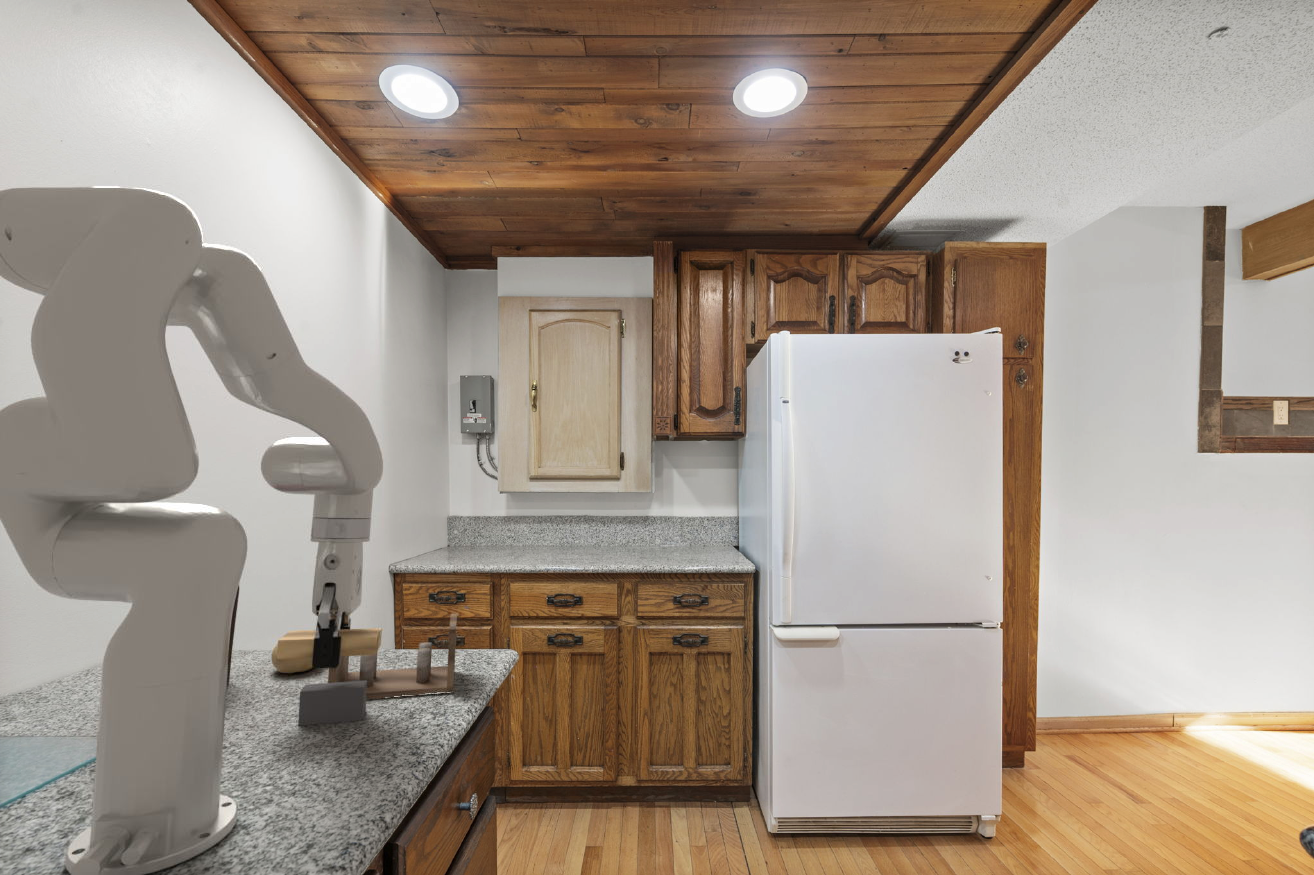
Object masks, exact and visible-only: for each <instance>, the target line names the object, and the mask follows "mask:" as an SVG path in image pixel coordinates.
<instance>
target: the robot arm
mask: <svg viewBox="0 0 1314 875" xmlns="http://www.w3.org/2000/svg"><path fill="white" fill-rule="evenodd" d="M203 238H204V237H203V232H202V227H201V224H200V222H199V219H198V217H197V215H196V213H195V212H194V211H193V210H192V209H191V207H190V206H188V205H187V204H186V203H185V202H184V201H182V200H181V199H179V198H177V197H175V196H173V195H171V194H168V193H165V192H161V191H158V190H154V189H153V190H152V189H148V188H141V187H140V188H139V187H126V186H75V187H12V188H7V189H2V190H0V277H1V278H2V279H5V280H6V281H8V282H9V283H12V284H13V285H15V286H17V287H19V288H22V289H24V290H26V291H30V292H33V293H35V294H38V295H40V296H44V297H43V298H42V300H41V303H40V305H39V306H38V308H37V310H36V313H35V316H34V319H33V323H32V327H31V331H30V332H31V333H30V345H31V346H30V347H31V353H32V358H33V360H34V364H35V368H36V370H37V373H38V376H39V379H40V382H41V386H42V387H43V390H44V394H45V396H39V397H38V396H37V397H31V398H27V399H22V400H18V401H16V402H13V403H10V404H8V405H7V406H5V407H3V408H2V409H0V522H1V523H2V525H3V528H4V529H5V532H6V534H7V535H8V538H9V540H10V542H11V543H12V545H13V547H14V549H15V551H16V553H17V555H18V557H19V559H20V561H21V563H22V564H23V566H24V569H25V570H26V571H27V573H28V574H29V576H30V577H31V579H33V581H34V582H35V583H36V584H37V585H38V586H40V587H41V589H43V590H44V591H46V592H48V593H49V594H52V595H54V596H56V597H59V598H62V599H63V598H64V599H69V600H78V601H80V600H81V601H93V602H94V601H96V602H97V601H98V602H100V601H101V602H121V603H127V604H129V603H130V604H131V606H130V609H129V611H128V613H127V615H126V617H125V618H124V619H123V620H122V622H121V623H120V625H119V626H118V627H117V629H116V631H115V632H114V633H113V635H112V637H111V638H110V640H109V642H108V644H107V646H106V649H105V651H104V655H103V661H102V668H101V679H100V680H101V685H100V697H99V700H100V701H99V710H98V711H99V712H98V727H97V741H96V756H95V768H94V770H95V771H94V782H93V793H92V794H93V796H92V797H93V798H92V808H91V810H92V811H91V822H90V823H91V825H90V826H88V827H87V828H85V829H84V830H82V832H80V833H79V834H78V835H77V836H76V837H75V838H74V839H73V840H72V841H71V842H70V843H69V845H68V846H67V848H66V853H65V861H64V862H65V869H66V870H67V872H68V873H69V874H70V875H147V874H152V873H155V872H158V871H162V870H165V869H168V868H171V867H173V866H176V865H178V864H181V863H183V862H186V861H188V860H190V859H192V858H194V857H197V856H199V855H200V854H203V853H205V852H206V851H207V850H208V849H210V848H212V847H214V846H215V845H216V844H218V843H219V842H220V841H221V840H223V839H225V837H226V836H227V835H228V834H229V833H230V832H231V831H233V829H234V827H235V825H236V824H237V820H238V811H239V810H238V809H239V808H238V804H237V803H236V801H235V800H234V799H233V798H231V797H230V796H226V795H225V794H221V783H222V770H223V769H222V766H223V749H224V733H225V720H226V718H225V717H226V702H227V701H226V700H227V688H228V686H227V671H228V653H229V639H230V628H231V620H232V613H233V607H234V602H235V597H236V593H237V590H238V586H239V587H240V581H241V579H242V575H243V572H244V568H245V564H246V560H247V555H248V554H247V553H248V537H247V533H246V530H245V529H244V526H243V525H242V524H241V522H240V520H238V519H237V518H236V517H234V515H233V514H231V513H229V512H227V511H226V510H223V509H220V508H218V507H215V506H211V505H205V504H199V503H191V502H190V503H189V502H163V501H164V500H168V499H172V498H174V497H176V496H178V495H180V494H181V493H184V492H185V491H186V490H188V489H189V488H190V487H191V486H192V485H193V482H194V481H195V479H196V478H197V475H198V474H199V467H200V459H199V452H198V449H197V448H198V447H197V444H196V441H195V440H196V439H195V436H194V434H193V430H192V427H191V424H190V421H189V418H188V414H187V413H186V409H185V406H184V404H183V401H182V397H181V394H180V390H179V388H178V384H177V383H176V379H175V376H174V373H173V370H172V367H171V363H170V359H169V355H168V354H169V353H168V350H167V346H166V343H167V342H166V332H167V326H169V327H186V328H188V329H190V330H191V331H192V333H193V335H194V336H195V339H197V341H198V343H199V346H200V347H201V349H203V351H204V353H205V355H206V356H207V358H208V360H209V361H210V364H211V365H212V367H213V369H214V370H215V373H216V374H217V376H218V377H219V378H220V380H221V382H222V384H223V386H224V387H225V389H226V391H228V393H229V394H230V395H231V396H232V397H234V398H235V399H237V400H238V401H241V402H243V403H245V404H246V405H249V406H252V407H254V408H256V409H259V410H261V411H263V412H266V413H269V414H270V415H271V414H272V415H274V416H278V417H281V418H283V419H286V420H289V421H292V422H294V423H297V424H298V425H300V426H303V427H305V428H307V429H309V431H312V432H314V433H316V435H318V436H319V437H300V436H299V437H298V436H295V437H287V438H283V439H279V440H277V441H276V442H273V443H272V444H271V445H270V446H268V447H267V449H266V450H265V451H264V453H263V455H262V458H261V461H260V470H261V474H262V477H263V479H264V481H265V482H266V484H268V486H270V487H271V488H273V489H274V490H275V491H278V492H282V493H285V494H291V495H310V496H311V495H313V497H314V498H313V510H312V518H311V519H312V520H311V530H310V532H311V533H310V542H312V543H318V544H317V553H316V559H315V567H314V569H315V570H314V575H313V576H314V577H313V587H312V597H311V598H312V600H311V601H312V602H311V610H312V611H311V612H312V614H314V616H316V617H317V619H316V625H315V626H316V627H315V630H316V632H315V638H314V648H313V659H312V668H311V669H329V668H336V667H338V665H339V660H340V647H341V636H339V631H340V630H341V629H351V626H350V627H345V626H349V624H350V618H351V615H352V613H353V614H354V612H355V611H356V610H357V609H358V608H359V607H360V606H361V603H362V592H363V591H362V590H363V588H362V587H363V568H364V567H363V565H364V549H363V548H364V545H363V543H365V542H367V543H368V542H370V538H371V529H372V528H371V523H372V511H373V498H374V490H375V488H376V487H378V485H379V483H380V482H381V480H382V476H383V472H384V459H383V454H382V451H381V447H380V444H379V441H378V439H377V436H376V434H375V431H374V429H373V426H372V424H371V422H370V420H369V418H368V416H367V414H366V413H365V412H364V410H363V409H362V407H361V406H359V404H358V403H357V402H356V401H355V400H354V399H352V398H351V397H350V396H349V395H348V394H346V393H345V391H343V390H341V388H339V387H338V386H337V385H335V383H333V382H332V381H331V380H329V379H328V378H326V377H325V376H323V375H322V374H321V373H319V372H318V371H316V370H314V369H312V368H311V367H310V366H309V365H307V363H306V362H305V360H304V359H303V357H302V354H301V352H300V351H299V347H298V345H297V343H296V342H295V339H294V337H293V335H292V333H291V331H290V329H289V327H288V325H287V323H286V321H285V318H284V316H283V313H282V311H281V309H280V307H279V305H278V303H277V301H276V299H275V296H274V294H273V293H272V290H271V288H270V286H269V284H268V282H267V280H266V278H265V275H264V274H263V272H262V270H261V267H259V266H258V264H257V263H256V262H255V259H253V258H252V257H251V256H250V255H248V254H247V253H246V252H243V251H241V250H240V249H237V248H234V247H231V246H225V245H222V244H221V245H220V244H211V243H209V244H208V243H204V239H203ZM160 501H161V502H160Z"/></svg>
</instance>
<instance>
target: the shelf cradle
mask: <svg viewBox="0 0 1314 875" xmlns="http://www.w3.org/2000/svg"><path fill="white" fill-rule="evenodd" d="M457 617H458V613H450V619H449V620H450V621H449V630H448V647H447V648H448V651H447V665H445V666H443V665H440V666H432V654H433V653H432V651H433V650H432V648H433V643H432V642H429V641H427V642H420V643H419V644H418V649H417V652H416V654H417V657H416V667H412V668H399V669H398V668H395V669H394V668H393V669H382V670H381V669H380V670H377V669H378V652H377V653H376V654H375V655H362V656H360V661H359V663H360V664H359V671H351V672H349V665H350V664H349V663H350V662H349V660H350V656H340V660H339V665H338V667H336V668H328V681H327V683H337V682H351V681H366V680H367V693H366V701H369V700H370V699H372V700H382V699H381V698H385V697H394V696H402V695H419V694H425V693H437V692H452V691H453V692H454V687H455V686H454V684H455V672H454V671H455V668H456V667H455V666H456V641H457V640H456V639H457V622H458V620H457ZM351 622H352V620H351V617H350V624H349V626H345V627H350V628H351ZM385 699H386V698H385ZM370 701H371V700H370Z"/></svg>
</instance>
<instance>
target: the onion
mask: <svg viewBox="0 0 1314 875" xmlns="http://www.w3.org/2000/svg"><path fill="white" fill-rule="evenodd" d="M277 648H278V643H276V645H275V646H274V648H273V650H272V651H271V664H272V666H273V667H274V668H275V669H276V671H277V672H279V673H281V674H294V673H301V672H306V671H309V670H312V669H313V668H312V659H313V657H312V658H287V659H277Z"/></svg>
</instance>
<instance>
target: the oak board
mask: <svg viewBox="0 0 1314 875" xmlns="http://www.w3.org/2000/svg"><path fill="white" fill-rule="evenodd" d="M315 632H316V629H314V630H313V629H309V630H306V629H305V630H289V631H288V632H287V633H286V634H285V635H283V636H282V637H281V638H279V639H278V640H277V644H278V648H277V659H287V658H312V657H313V648H314V638H315ZM382 632H383V628H382V627H379V628H377V627H376V628H350V629H341V630H340V631H339V636H341V647H340V656H349V657H359V656H360V657H361V656H362V655H375V654H376V653H377V654H378V651H379V649H380V647H381V646H382Z"/></svg>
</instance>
